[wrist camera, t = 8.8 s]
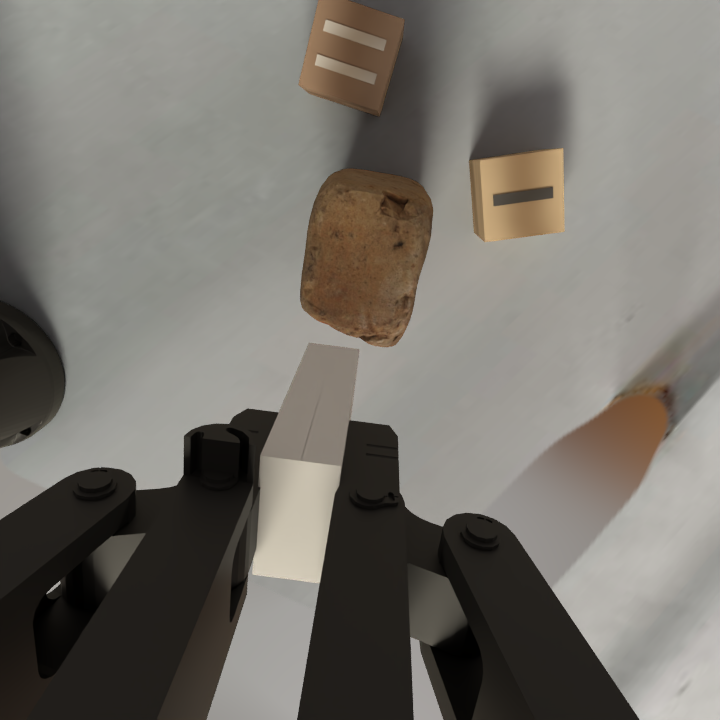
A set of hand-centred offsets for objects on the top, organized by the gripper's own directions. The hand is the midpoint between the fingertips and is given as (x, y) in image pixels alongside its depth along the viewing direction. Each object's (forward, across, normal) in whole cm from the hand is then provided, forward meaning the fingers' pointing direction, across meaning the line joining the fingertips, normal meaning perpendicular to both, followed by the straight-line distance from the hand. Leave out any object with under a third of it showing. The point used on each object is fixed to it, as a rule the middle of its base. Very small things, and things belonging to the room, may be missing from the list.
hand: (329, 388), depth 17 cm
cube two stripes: (+35, -3, +13) cm, 37 cm away
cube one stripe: (+35, +11, +5) cm, 37 cm away
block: (+35, 0, 0) cm, 35 cm away
